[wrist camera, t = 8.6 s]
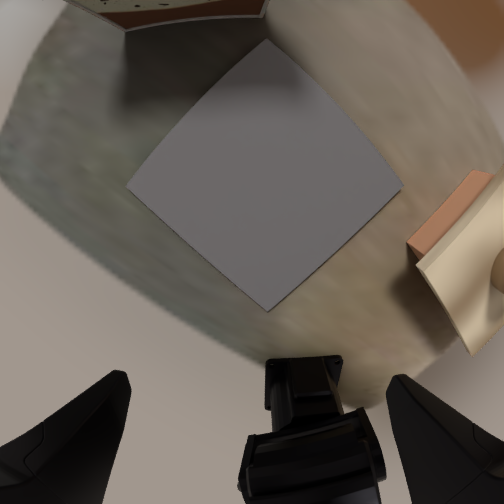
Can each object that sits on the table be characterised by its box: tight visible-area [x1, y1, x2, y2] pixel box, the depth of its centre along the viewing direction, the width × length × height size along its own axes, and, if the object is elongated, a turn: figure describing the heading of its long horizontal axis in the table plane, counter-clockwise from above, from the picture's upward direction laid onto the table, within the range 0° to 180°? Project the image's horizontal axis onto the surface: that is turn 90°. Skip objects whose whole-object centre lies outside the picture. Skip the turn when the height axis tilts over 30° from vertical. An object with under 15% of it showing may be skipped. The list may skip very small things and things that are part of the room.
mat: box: [126, 38, 404, 312], centre depth 18 cm, size 13×13×1 cm
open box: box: [407, 170, 495, 261], centre depth 17 cm, size 8×8×4 cm
